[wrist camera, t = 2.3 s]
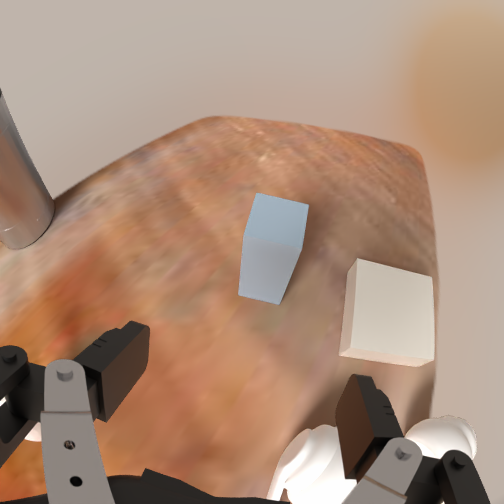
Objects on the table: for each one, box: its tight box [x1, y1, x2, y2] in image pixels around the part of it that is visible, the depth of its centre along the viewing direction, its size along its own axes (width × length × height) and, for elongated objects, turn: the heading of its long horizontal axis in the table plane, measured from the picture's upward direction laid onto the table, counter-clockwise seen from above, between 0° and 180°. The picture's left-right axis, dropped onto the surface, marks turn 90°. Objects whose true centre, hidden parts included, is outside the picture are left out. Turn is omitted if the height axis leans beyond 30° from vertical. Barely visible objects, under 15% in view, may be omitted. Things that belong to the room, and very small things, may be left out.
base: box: [339, 258, 434, 367], centre depth 27 cm, size 9×9×3 cm
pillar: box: [238, 193, 309, 305], centre depth 26 cm, size 4×4×10 cm
